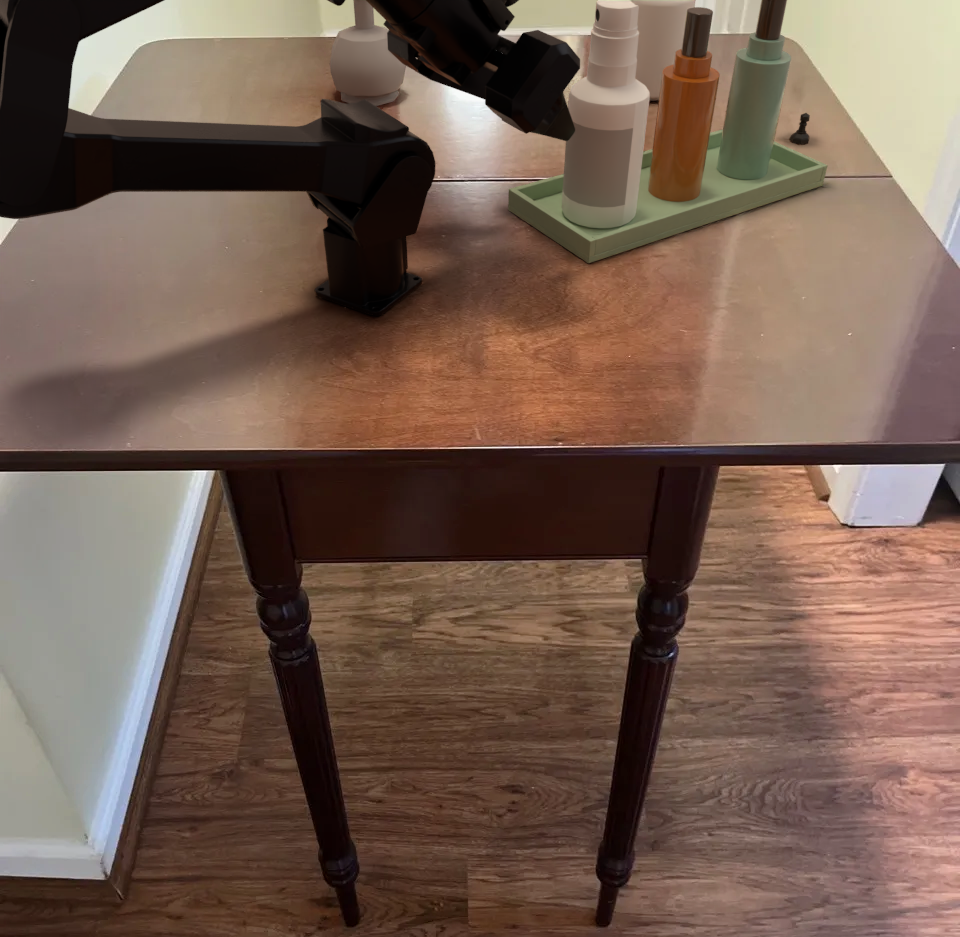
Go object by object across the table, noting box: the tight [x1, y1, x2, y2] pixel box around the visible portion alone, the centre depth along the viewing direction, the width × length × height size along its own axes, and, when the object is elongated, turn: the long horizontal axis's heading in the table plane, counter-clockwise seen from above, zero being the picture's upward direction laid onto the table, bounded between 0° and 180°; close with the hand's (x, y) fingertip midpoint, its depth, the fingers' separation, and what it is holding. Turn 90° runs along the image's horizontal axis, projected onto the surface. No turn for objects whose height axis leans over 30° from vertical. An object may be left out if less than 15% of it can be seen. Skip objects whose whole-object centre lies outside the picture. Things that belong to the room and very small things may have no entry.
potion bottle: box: [329, 0, 407, 107], centre depth 106 cm, size 9×9×18 cm
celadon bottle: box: [717, 0, 792, 180], centre depth 90 cm, size 5×5×16 cm
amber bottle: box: [648, 6, 721, 202], centre depth 87 cm, size 5×5×16 cm
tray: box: [507, 128, 829, 264], centre depth 91 cm, size 29×12×2 cm, turn 123°
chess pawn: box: [789, 112, 811, 145], centre depth 102 cm, size 2×2×3 cm
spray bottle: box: [562, 0, 650, 228], centre depth 82 cm, size 7×7×18 cm
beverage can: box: [630, 0, 696, 102], centre depth 110 cm, size 8×8×12 cm
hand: (536, 116), depth 78 cm, fingers open, 9 cm apart
